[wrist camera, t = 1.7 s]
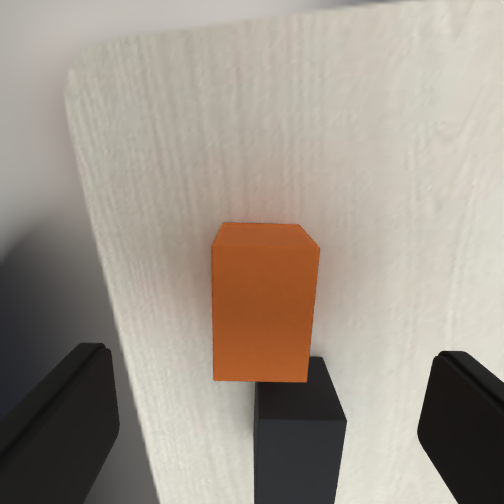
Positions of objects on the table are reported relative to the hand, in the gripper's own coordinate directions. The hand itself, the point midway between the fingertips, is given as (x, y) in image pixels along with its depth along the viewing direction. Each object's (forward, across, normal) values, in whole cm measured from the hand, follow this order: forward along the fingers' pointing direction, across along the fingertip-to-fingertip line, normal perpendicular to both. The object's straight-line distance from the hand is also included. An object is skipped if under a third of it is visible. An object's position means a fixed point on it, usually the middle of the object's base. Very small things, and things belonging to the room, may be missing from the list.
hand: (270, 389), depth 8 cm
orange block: (+8, 0, -1) cm, 8 cm away
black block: (+8, -2, +7) cm, 11 cm away
